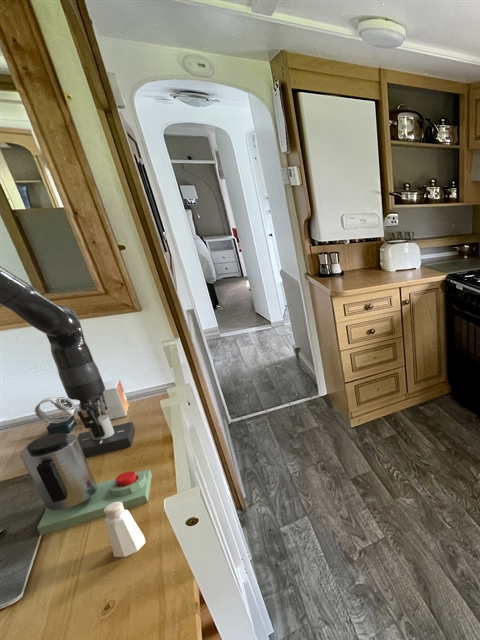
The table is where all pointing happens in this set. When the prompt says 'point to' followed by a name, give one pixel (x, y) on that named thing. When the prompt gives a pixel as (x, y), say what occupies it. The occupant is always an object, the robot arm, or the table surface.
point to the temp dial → (106, 426)
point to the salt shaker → (122, 530)
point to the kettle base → (98, 503)
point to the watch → (61, 423)
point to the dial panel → (107, 440)
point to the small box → (115, 399)
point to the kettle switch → (126, 479)
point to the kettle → (59, 470)
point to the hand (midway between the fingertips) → (102, 431)
